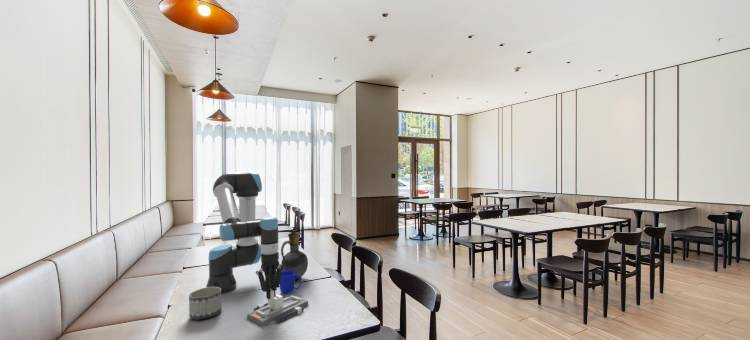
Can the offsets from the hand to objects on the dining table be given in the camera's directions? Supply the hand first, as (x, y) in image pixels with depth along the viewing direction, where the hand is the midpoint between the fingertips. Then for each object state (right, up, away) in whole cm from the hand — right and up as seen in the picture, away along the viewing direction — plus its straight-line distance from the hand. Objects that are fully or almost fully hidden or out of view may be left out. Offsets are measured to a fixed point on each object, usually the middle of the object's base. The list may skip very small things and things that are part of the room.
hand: (271, 304), depth 135 cm
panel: (+3, -4, +3) cm, 6 cm away
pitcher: (-1, -5, +41) cm, 41 cm away
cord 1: (-4, -5, +8) cm, 10 cm away
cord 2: (+9, -4, -2) cm, 10 cm away
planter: (-30, -5, +2) cm, 31 cm away
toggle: (+2, -2, +2) cm, 4 cm away
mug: (+2, -5, +25) cm, 26 cm away
